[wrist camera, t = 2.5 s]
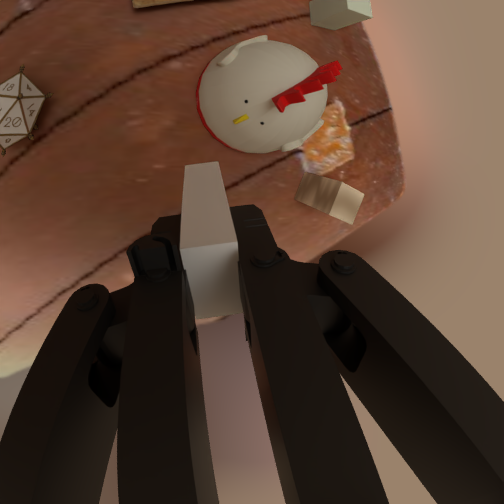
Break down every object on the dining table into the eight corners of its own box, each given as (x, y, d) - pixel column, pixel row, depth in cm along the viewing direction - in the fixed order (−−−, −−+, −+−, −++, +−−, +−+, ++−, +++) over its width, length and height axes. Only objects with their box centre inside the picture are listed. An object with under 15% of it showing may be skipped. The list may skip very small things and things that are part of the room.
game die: (45, 103, 25) (76, 74, 20) (20, 168, 24) (42, 153, 19) (-10, 80, 17) (7, 40, 12) (-40, 148, 17) (-38, 125, 12)
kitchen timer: (171, 86, 28) (199, 48, 15) (262, 29, 28) (335, -15, 15) (243, 175, 35) (310, 201, 22) (320, 113, 35) (406, 114, 23)
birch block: (304, 171, 38) (342, 182, 31) (326, 182, 40) (364, 194, 33) (294, 199, 39) (329, 214, 32) (316, 208, 41) (352, 224, 34)
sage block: (309, 2, 28) (344, -17, 21) (332, 8, 29) (368, -7, 22) (311, 24, 30) (347, 8, 23) (334, 30, 31) (372, 17, 24)
